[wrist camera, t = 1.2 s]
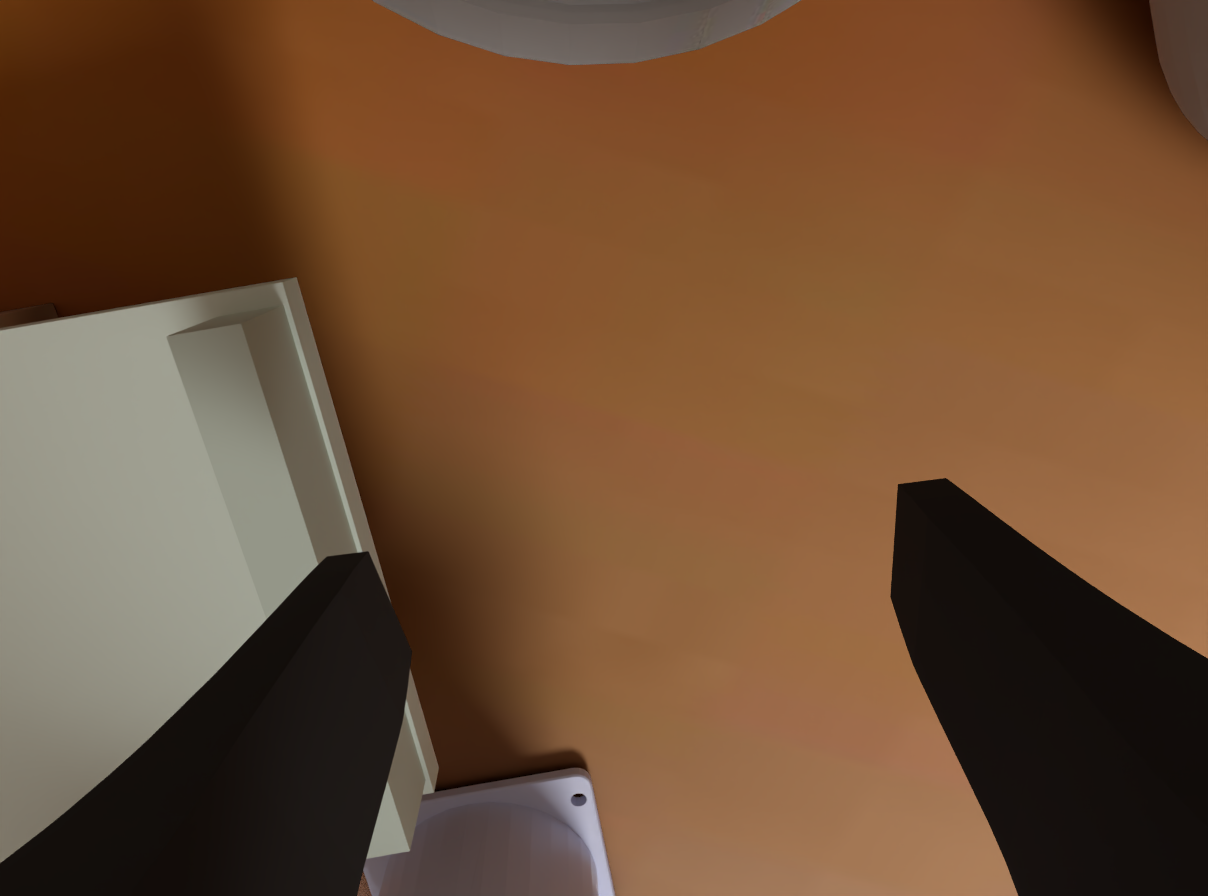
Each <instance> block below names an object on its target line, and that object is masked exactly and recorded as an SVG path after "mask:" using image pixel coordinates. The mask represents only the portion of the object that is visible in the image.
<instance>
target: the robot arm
mask: <svg viewBox="0 0 1208 896" xmlns="http://www.w3.org/2000/svg"><path fill="white" fill-rule="evenodd" d="M891 600H892V603H893V606H894V609H895V612H896V616H897V619H898V622H899V625H900V628H901V631H902V634H903V637H904V640H905V643H906V646H907V649H908V651H909V654H910V657H911V660H912V663H913V666H914V668H915V670H916V672H917V674H918V677H919V679H920V681H921V683H922V685H923V687H924V689H925V692H926V694H927V696H928V698H929V700H930V702H931V704H932V706H933V708H934V710H935V713H936V715H937V717H938V719H939V721H940V723H941V725H942V727H943V729H944V731H945V733H946V735H947V738H948V740H949V742H950V744H951V746H952V748H953V750H954V752H955V754H956V756H957V758H958V760H959V762H960V764H961V767H962V769H963V771H964V773H965V775H966V777H967V779H968V781H969V783H970V785H971V787H972V789H973V791H974V793H975V796H976V798H977V800H978V802H979V804H980V806H981V808H982V810H983V812H984V814H985V816H986V818H987V820H988V823H989V825H990V827H991V829H992V831H993V834H994V836H995V838H996V841H997V843H998V845H999V848H1000V850H1001V852H1002V854H1003V857H1004V859H1005V861H1006V864H1007V866H1008V869H1009V872H1010V874H1011V877H1012V880H1013V883H1014V885H1015V888H1016V891H1017V893H1018V896H1208V658H1206V657H1204V656H1203V655H1201V654H1199V653H1197V652H1196V651H1194V650H1192V649H1191V648H1189V647H1187V646H1186V645H1184V644H1182V643H1181V642H1179V641H1177V640H1176V639H1174V638H1172V637H1171V636H1169V635H1168V634H1166V633H1164V632H1163V631H1161V630H1160V629H1158V628H1157V627H1155V626H1153V625H1152V624H1150V623H1149V622H1147V621H1146V620H1144V619H1142V618H1141V617H1139V616H1138V615H1136V614H1135V613H1133V612H1131V611H1130V610H1128V609H1127V608H1125V607H1124V606H1122V605H1120V604H1119V603H1117V602H1116V601H1114V600H1113V599H1111V598H1110V597H1108V596H1107V595H1105V594H1104V593H1102V592H1101V591H1100V590H1098V589H1097V588H1095V587H1094V586H1092V585H1091V584H1089V583H1088V582H1086V581H1085V580H1083V579H1082V578H1080V577H1079V576H1078V575H1076V574H1075V573H1073V572H1072V571H1070V570H1069V569H1068V568H1066V567H1065V566H1063V565H1062V564H1061V563H1059V562H1058V561H1056V560H1055V559H1054V558H1052V557H1051V556H1049V555H1048V554H1047V553H1045V552H1044V551H1043V550H1041V549H1040V548H1038V547H1037V546H1036V545H1034V544H1033V543H1032V542H1030V541H1029V540H1027V539H1026V538H1025V537H1023V536H1022V535H1021V534H1019V533H1018V532H1017V531H1015V530H1014V529H1013V528H1011V527H1010V526H1009V525H1007V524H1006V523H1005V522H1003V521H1002V520H1001V519H999V518H998V517H997V516H995V515H994V514H993V513H992V512H990V511H989V510H988V509H986V508H985V507H984V506H982V505H981V504H980V503H978V502H977V501H976V500H974V499H973V498H972V497H971V496H969V495H968V494H967V493H965V492H964V491H963V490H961V489H960V488H959V487H957V486H956V485H955V484H953V483H952V482H950V481H949V480H948V479H946V478H944V479H936V480H928V481H920V482H912V483H904V484H898V492H897V507H896V522H895V537H894V552H893V567H892V582H891ZM411 656H412V651H411V648H410V646H409V644H408V641H407V639H406V637H405V634H404V632H403V630H402V628H401V625H400V623H399V621H398V618H397V616H396V614H395V611H394V609H393V607H392V604H391V602H390V600H389V597H388V595H387V593H386V590H385V588H384V586H383V584H382V581H381V579H380V577H379V574H378V572H377V570H376V567H375V565H374V563H373V560H372V558H371V556H370V553H369V551H366V552H358V553H350V554H342V555H334V556H327V557H326V558H325V559H324V560H323V561H321V562H320V563H319V564H318V565H317V566H316V567H315V568H314V569H313V570H312V571H311V572H310V573H309V574H308V575H307V577H306V578H305V579H304V580H303V581H302V582H301V583H300V584H299V585H298V586H297V587H296V588H295V589H294V590H293V591H292V592H291V594H290V595H289V596H288V597H287V598H286V599H285V600H284V601H283V602H282V603H281V604H280V605H279V606H278V607H277V609H276V610H275V611H274V612H273V613H272V614H271V615H270V616H269V617H268V618H267V619H266V620H265V622H264V623H263V624H262V625H261V626H260V627H259V628H258V629H257V630H256V631H255V632H254V633H253V634H252V635H251V636H250V637H249V638H248V640H247V641H246V642H245V643H244V644H243V645H242V646H241V647H240V648H239V649H238V650H237V651H236V652H235V653H234V654H233V655H232V656H231V657H230V659H229V660H228V661H227V662H226V663H225V664H224V665H223V666H222V667H221V668H220V669H219V670H218V671H217V672H216V673H215V674H214V675H213V676H212V677H211V678H210V679H209V680H208V681H207V682H206V683H205V684H204V685H203V686H202V687H201V688H200V689H199V690H198V691H197V692H196V693H195V694H194V695H193V696H192V697H191V698H190V699H189V700H188V701H187V702H186V703H185V704H184V705H183V706H182V707H181V708H180V709H179V710H178V711H177V712H176V713H175V714H174V715H173V716H172V717H170V718H169V719H168V720H167V721H166V722H165V723H164V724H163V725H162V726H161V727H160V728H159V729H158V730H157V731H156V732H155V733H154V734H153V735H152V736H151V737H150V738H149V739H148V740H147V741H146V742H145V743H144V744H143V745H141V746H140V747H139V748H138V749H137V750H136V751H135V752H134V753H133V754H132V755H131V756H130V757H128V758H127V759H126V760H125V761H124V762H123V763H122V764H121V765H119V766H118V767H117V768H116V769H115V770H114V771H113V772H112V773H111V774H109V775H108V776H107V777H106V778H105V779H104V780H102V781H101V782H100V783H99V784H98V785H97V786H95V787H94V788H93V789H92V790H91V791H89V792H88V793H87V794H86V795H85V796H84V797H82V798H81V799H80V800H79V801H78V802H77V803H75V804H74V805H73V806H72V807H71V808H70V809H68V810H67V811H66V812H65V813H64V814H62V815H61V816H60V817H59V818H57V819H56V820H55V821H54V822H53V823H51V824H50V825H49V826H48V827H46V828H45V829H44V830H43V831H41V832H40V833H39V834H37V835H36V836H35V837H33V838H32V839H31V840H30V841H28V842H27V843H26V844H24V845H23V846H22V847H20V848H19V849H18V850H17V851H15V852H14V853H13V854H11V855H10V856H9V857H7V858H6V859H5V860H4V861H2V862H1V863H0V896H357V893H358V889H359V884H360V880H361V876H362V873H363V872H364V875H365V877H366V880H367V883H368V886H369V889H370V892H371V895H372V896H616V895H615V890H614V886H613V881H612V876H611V871H610V867H609V862H608V857H607V852H606V847H605V843H604V838H603V833H602V828H601V824H600V819H599V814H598V809H597V805H596V800H595V795H594V790H593V785H592V781H591V777H590V775H589V773H588V772H587V771H586V770H584V769H581V768H569V769H564V770H558V771H552V772H546V773H541V774H535V775H529V776H523V777H518V778H512V779H506V780H500V781H495V782H489V783H483V784H478V785H472V786H466V787H460V788H455V789H449V790H443V791H437V792H434V793H429V794H424V795H422V799H421V803H420V808H419V812H418V817H417V822H416V826H415V831H414V835H413V840H412V844H411V849H410V851H408V852H402V853H396V854H391V855H385V856H379V857H374V858H368V859H366V858H367V854H368V851H369V847H370V843H371V840H372V836H373V832H374V828H375V825H376V821H377V817H378V814H379V810H380V806H381V803H382V799H383V795H384V792H385V788H386V784H387V780H388V777H389V773H390V769H391V765H392V761H393V758H394V754H395V750H396V746H397V742H398V739H399V735H400V731H401V727H402V723H403V717H404V710H405V704H406V697H407V690H408V682H409V673H410V664H411ZM577 793H579V794H583V795H584V796H581V797H575V796H573V795H575V794H577Z"/></svg>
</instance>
